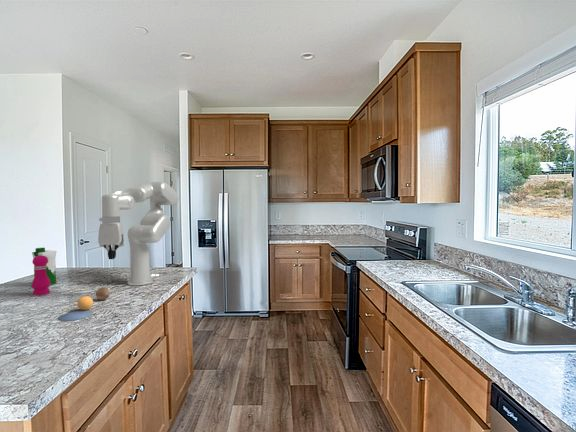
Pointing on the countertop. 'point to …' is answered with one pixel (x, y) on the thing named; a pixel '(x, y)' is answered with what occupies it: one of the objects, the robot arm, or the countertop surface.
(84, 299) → the object ball
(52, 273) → the milk carton
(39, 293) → the pepper mill
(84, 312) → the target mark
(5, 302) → the countertop surface
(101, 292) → the brown egg
